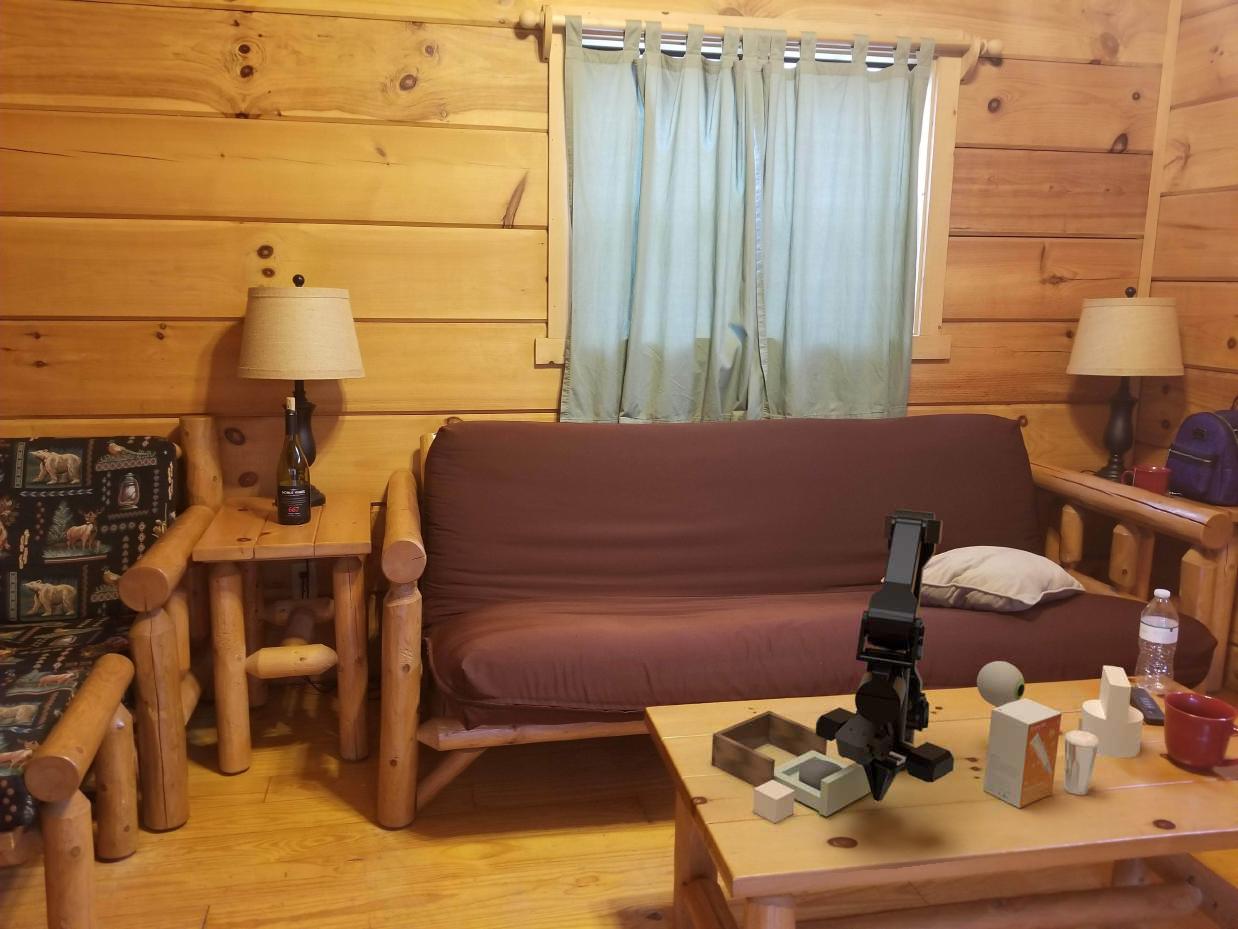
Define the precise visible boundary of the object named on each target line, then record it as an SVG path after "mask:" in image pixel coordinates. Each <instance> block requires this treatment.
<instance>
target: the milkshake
mask: <svg viewBox="0 0 1238 929" xmlns="http://www.w3.org/2000/svg"><path fill="white" fill-rule="evenodd" d="M1098 745H1099V741H1098V738H1097V737H1096V736H1095V735H1094V734H1091V733H1089V732H1084V731H1082V719H1081V718H1078V730H1077V729H1073V730H1070V731H1068V732H1067V733H1066V734H1064V782H1063V783H1064V790H1065V791H1066V792H1068V793H1070V794H1072V795H1076V796H1086V795H1087V794H1089V791H1090V784H1091V781H1092V775H1093V770H1094V766H1095V762H1096V757H1097V754H1098V753H1097V749H1098Z"/></svg>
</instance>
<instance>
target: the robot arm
mask: <svg viewBox="0 0 1238 929" xmlns="http://www.w3.org/2000/svg"><path fill="white" fill-rule="evenodd" d="M943 525H944V522H943V520H941V519H936V512H930V511H923V510H920V511H919V510H912V509H911V510H909V509H904V508H903V509H902V508H901V509H900V508H895V510H894V513H893V515H892V514H884V520H883V532H882V538H883V539H887V549H888V552H889V553H888V558H887V563H886V567H885V573H884V576H883V582H882V585H881V586H882V587H881V588H879V589H878V590H877V591H875V592H874V593H872V594H871V596H870V599H869V600H870V601H869V604H868V608H867V609H866V610H863V611H862V616H861V621H860V622H861V623H860V629H859V635H858V642H857V646H856V647H857V648H856V655H855V661H860V662H866V668H865V669H866V670H865V672H864V674H863V676H862V678H861V681H860V683H859V685H858V688H857V690H856V693H855V696H854V705H855V708H856V712H853V711H849V710H847V709H845V708H842V707H837V708H835V709H833V710H830V711H828V712H826V713H823V714H821V715H820V716H819V717H818V719H817V720H816V721H815V722H816V723H815V730H816V735H817V736H820V737H822V738H824V739H827V741H829V742H833V741H834V740H835V742H836V747H837V753H838V756H839V757H841V758H844V759H848V760H851V761H852V762H854V763H855V762H856V763H857V764H859V765H863V768H864V770H865V773H866V776H867V779H868V783H869V786H870V789H871V792H870V793H871V795H872V799H873V800H874V801H876V802H878V803H879V802H881V801H883V799H884V798H885V795H886V794H887V793H888V790H889V789H890V787H891V785H892V784H893V782H894V781H895V779H896V777H897V775H898V773H900V771H903V770H905V771H906V772H907V773H908V775H909V776H911V777H914V778H916V779H918V780H921V781H923V782H925V783H934V782H936V781H938V780H940V779H941V778H943V777H944V776H946V775H949V774H950V773H951V772H953V771H954V765H955V764H954V762H955V758H954V756H953V754H952V752H951V751H950V750H949V749H947V748H944V747H942V746H939V745H936V744H933V743H932V742H928V741H926V742H924V743H922V744H920V745H919V746H917V747H915V744H914V743H915V742H914V741H915V733H916V732H915V731H918V732H921V733H922V732H923V729H928V727H929V722H930V721H929V719H930V703H929V701H928V700H927V697H926V696H927V694H926V692H923V678H922V677H921V675H920V672H919V670H918V668H917V664H918V663H917V662H918V661H922V659H923V651H924V644H925V636H926V626H925V625H924V622H923V618H921V617H919V616H920V606H921V598H922V597H921V595H922V587H923V586H922V585H923V577H924V569H925V568H926V566H928V563H929V562H930V561H931V559H932V558H933V557H934V556H935V555H936V551H937V550H936V549H937V545H940V544H941V542H942V536H943ZM865 642H866V643H867V644H868V645H869V646H872V647H877V648H872V647H865Z"/></svg>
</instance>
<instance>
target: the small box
mask: <svg viewBox="0 0 1238 929" xmlns="http://www.w3.org/2000/svg"><path fill="white" fill-rule="evenodd" d="M1061 722H1062V712H1060V711H1058V710H1055V709H1053V708H1051V707H1049V706H1046V705H1043V704H1042V703H1038V702H1036V701H1034V700H1031V699H1029V698H1027V697H1024V698H1021V699H1020V700H1017V701H1014V702H1010V703H1007V704H1005V705H1002V706H1000V707H997V708H996V707H994V708H991V715H990V723H989V724H990V725H989V733H988V743H987V752H986V753H987V754H986V762H985V771H984V779H983V780H984V782H983V788H982V789H983V790H982V791H984V792H986V793H987V794H990V795H991V796H994V797H996V798H998V799H999V800H1002V801H1003V802H1005V803H1008V804H1010V805H1012V806H1014V807H1016V808H1018V809H1022V808H1023V807H1025V806H1028V805H1029V804H1032V803H1034V802H1036V801H1039V800H1041V799H1044V798H1047V797H1048V796H1049V797H1050V796H1051V795H1052V794H1053V789H1054V788H1053V787H1054V779H1055V771H1056V762H1057V754H1058V746H1059V739H1060V738H1059V737H1060V730H1061Z"/></svg>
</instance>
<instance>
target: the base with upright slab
mask: <svg viewBox="0 0 1238 929" xmlns="http://www.w3.org/2000/svg"><path fill="white" fill-rule="evenodd" d="M1131 690H1132V686H1131V683H1130V681H1129V679H1128V675H1127V674H1126V671H1125V670H1124V668H1123V667H1119V666H1114V665H1103V666H1102V674H1101V679H1100V690H1099V696H1098V699H1090V700H1086V701H1083V703H1082V707H1081V715H1080V716H1081V717H1080V719H1082V731H1084V732H1089V733H1091V734H1094V735H1095V736H1096V737H1097V738H1098V741H1099V745H1098V749H1097V753H1096V754H1098V755H1101V756H1106V757H1110V758H1114V759H1115V758H1117V759H1128V758H1130V759H1131V758H1134V757H1137V756H1138V755H1139V753H1140V750H1141V748H1140V747H1141V741H1142V732H1143V724H1144V714H1143V713H1142V712H1141V711H1140V710H1139V709H1137V708H1135V707H1133V706H1131V705H1130V700H1131V692H1132V691H1131Z"/></svg>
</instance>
